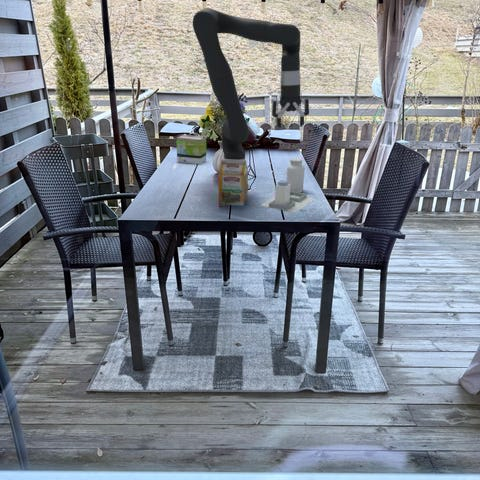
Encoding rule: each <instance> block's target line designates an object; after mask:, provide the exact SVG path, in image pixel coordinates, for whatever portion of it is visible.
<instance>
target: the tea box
mask: <svg viewBox="0 0 480 480" xmlns="http://www.w3.org/2000/svg"><path fill="white" fill-rule="evenodd" d="M203 137H204V136H200V135H188V134H182V135H180V136H178V137H176V138H175V139H176V140H175V141H176V162H177V163H184V164H191V165H193V164H194V165H199V164H200V165H202V164H204V163H206V162H207V137H206V138H203ZM203 162H204V163H203Z"/></svg>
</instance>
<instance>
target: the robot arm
mask: <svg viewBox="0 0 480 480" xmlns="http://www.w3.org/2000/svg"><path fill="white" fill-rule="evenodd" d="M192 29H193V31H194V34H195V37H196V39H197V41H198V44H199V46H200V49H201V52H202V55H203V59H204V64H205V67H206V70H207V73H208V78H209V83H210V85H211V89H212V91H213V92H212V93H213V94H214V96H215V98H216V100H217V101H218V103H219V104H220V106H221V108H222V109H223V112H224V114H225V117H226V120H225V121H224V122H223V124H222V127H221V146H222V147H221V148H222V152H223V159H232V160H246V150H245V149H244V148H243V146H242V145H243V143H245V142H246V141H247V139H248V137H249V134H250V133H249V126H248V122H247V121H246V118H245V115H244V112H243V110H242V106H241V102H240V98H239V95H238V90H237V87H236V83H235V79H234V75H233V72H232V69H231V66H230V64H229V62H228V60H227V58H226V56H225V55H224V52H223V50H222V48H221V44H220V39H219V34H229V35H234V36H237V37H240V38H244V39H247V40H249V41H254V42H261V43H265V44H267V43H272V44H276V45H281V59H280V80H279V81H280V83H279V84H280V100H272V103H271V104H272V107H271V110H272V112H271V114H272V115H271V116H272V117H273V118H276V126H277V127H278V128H279V129H281V128H282V116H283V115H284V113H285V112H288V113H289V112H298V114H299V115H300V116H299V127H303V126H304V125H305V117H306V116H309V115H310V101H309V99H308V98H305V97H304V98H303V99H301V57H300V53H301V52H300V50H301V31H300V29H299V27H297V26H296V25H295V24H290V23H281V22H272V21H268V20H263V19H262V20H261V19H255V18H249V17H248V18H247V17H242V16H241V17H240V16H236V15H231V14H229V13H224V12H222V11H219V10H215V9H213V8H210V7H204V8H202V9H200V10H198V11H197V12H196V13H195V14H194V16H193V17H192ZM301 104H302V105H304V112H303V110H302V109H301V108H300V105H301ZM279 105H280V106H281V108H280V109H279V111H278V112H277V107H278V106H279Z"/></svg>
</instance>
